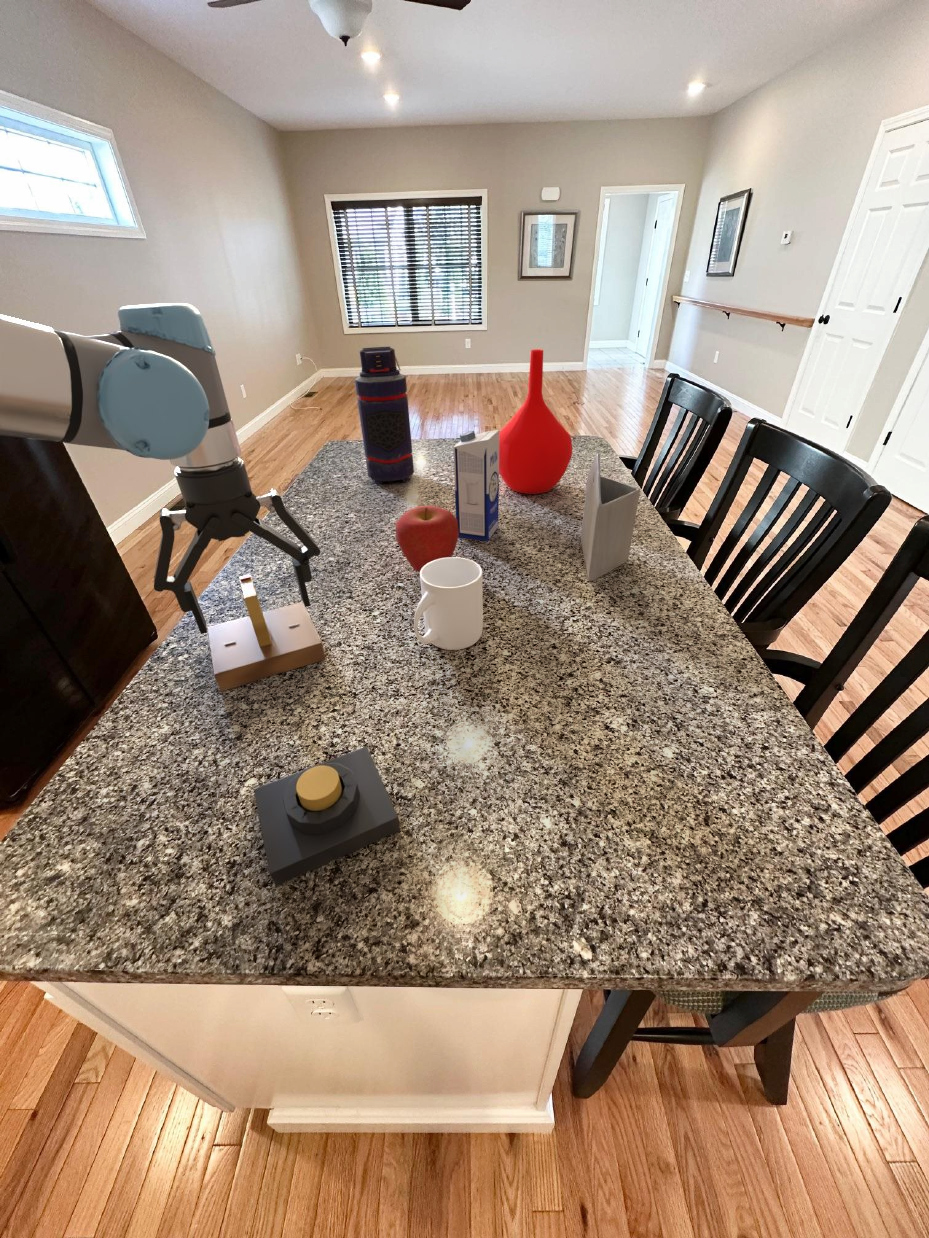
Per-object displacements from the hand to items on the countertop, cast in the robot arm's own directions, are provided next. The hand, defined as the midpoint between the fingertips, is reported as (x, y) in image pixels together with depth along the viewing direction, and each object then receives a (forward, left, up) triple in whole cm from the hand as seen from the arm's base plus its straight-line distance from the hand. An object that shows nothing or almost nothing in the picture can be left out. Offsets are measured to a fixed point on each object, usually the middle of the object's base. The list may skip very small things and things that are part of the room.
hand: (256, 614), depth 71 cm
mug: (+24, -10, -7) cm, 27 cm away
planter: (+60, -2, -7) cm, 60 cm away
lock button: (+1, -31, -3) cm, 31 cm away
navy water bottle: (+41, +61, -7) cm, 74 cm away
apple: (+30, +10, -7) cm, 32 cm away
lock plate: (0, 0, -6) cm, 6 cm away
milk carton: (+45, +20, -7) cm, 50 cm away
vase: (+68, +36, -7) cm, 77 cm away
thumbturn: (0, 0, -3) cm, 3 cm away
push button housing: (+1, -31, -6) cm, 32 cm away
